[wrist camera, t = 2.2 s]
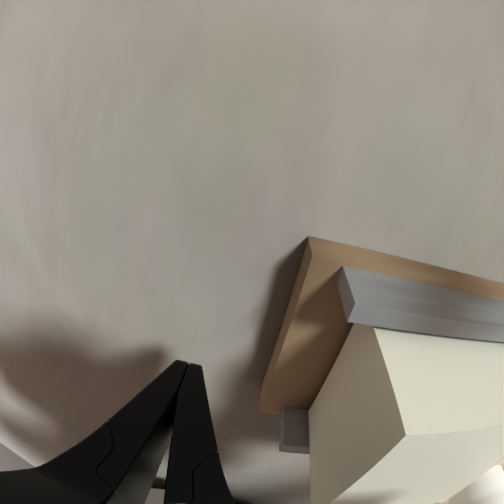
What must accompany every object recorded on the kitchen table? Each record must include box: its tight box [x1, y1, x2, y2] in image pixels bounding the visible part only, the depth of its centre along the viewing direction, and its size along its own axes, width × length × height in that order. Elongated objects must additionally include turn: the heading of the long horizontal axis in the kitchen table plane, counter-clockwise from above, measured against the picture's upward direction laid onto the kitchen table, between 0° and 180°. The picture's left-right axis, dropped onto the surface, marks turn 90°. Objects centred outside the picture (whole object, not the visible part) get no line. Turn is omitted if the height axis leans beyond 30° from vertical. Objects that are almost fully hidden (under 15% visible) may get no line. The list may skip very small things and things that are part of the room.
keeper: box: [308, 323, 504, 504], centre depth 9 cm, size 6×6×5 cm
